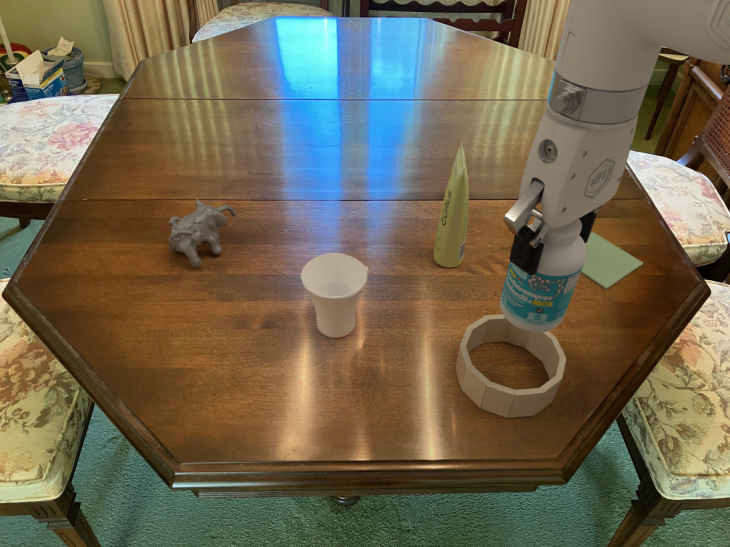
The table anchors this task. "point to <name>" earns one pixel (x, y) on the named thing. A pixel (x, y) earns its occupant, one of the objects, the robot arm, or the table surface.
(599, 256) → the mat
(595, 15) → the robot arm
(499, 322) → the polygonal ring band
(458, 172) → the tube
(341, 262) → the cup
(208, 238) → the elephant statuette
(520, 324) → the pill bottle
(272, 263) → the table surface
